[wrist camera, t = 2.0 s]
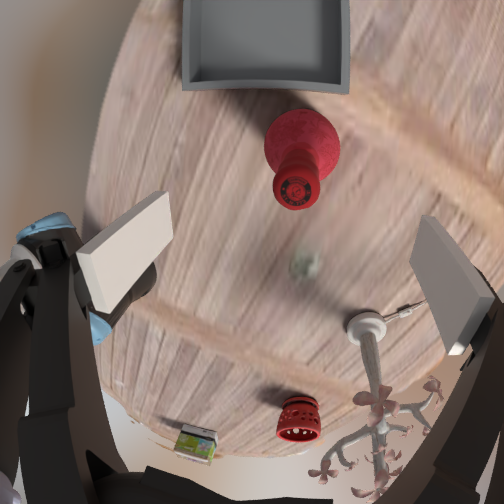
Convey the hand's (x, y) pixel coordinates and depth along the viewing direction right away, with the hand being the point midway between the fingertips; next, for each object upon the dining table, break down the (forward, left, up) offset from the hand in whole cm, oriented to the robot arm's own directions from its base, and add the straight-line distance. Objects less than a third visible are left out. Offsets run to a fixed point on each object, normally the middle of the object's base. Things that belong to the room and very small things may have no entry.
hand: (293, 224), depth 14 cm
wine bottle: (0, 0, -36) cm, 36 cm away
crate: (-6, +20, -35) cm, 41 cm away
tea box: (-30, -116, -36) cm, 125 cm away
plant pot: (+8, -76, -36) cm, 84 cm away
